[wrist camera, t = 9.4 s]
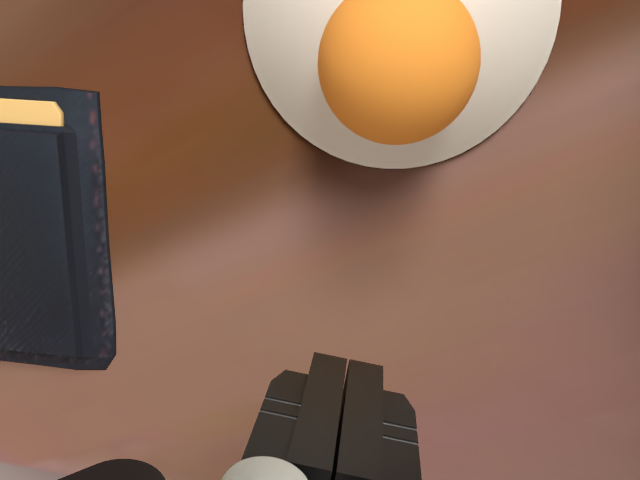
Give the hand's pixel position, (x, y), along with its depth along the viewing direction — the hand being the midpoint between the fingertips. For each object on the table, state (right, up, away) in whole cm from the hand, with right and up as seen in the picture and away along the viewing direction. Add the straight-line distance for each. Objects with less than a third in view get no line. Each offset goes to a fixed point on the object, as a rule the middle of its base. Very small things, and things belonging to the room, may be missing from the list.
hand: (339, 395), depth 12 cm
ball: (+2, +10, +9) cm, 13 cm away
